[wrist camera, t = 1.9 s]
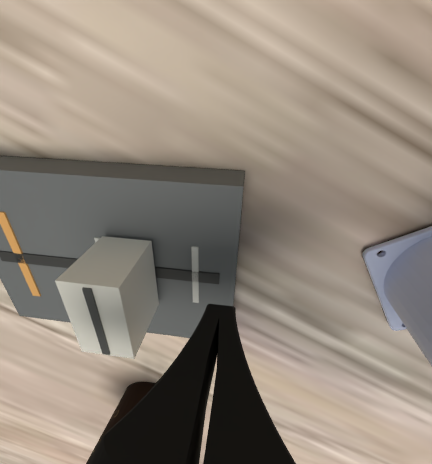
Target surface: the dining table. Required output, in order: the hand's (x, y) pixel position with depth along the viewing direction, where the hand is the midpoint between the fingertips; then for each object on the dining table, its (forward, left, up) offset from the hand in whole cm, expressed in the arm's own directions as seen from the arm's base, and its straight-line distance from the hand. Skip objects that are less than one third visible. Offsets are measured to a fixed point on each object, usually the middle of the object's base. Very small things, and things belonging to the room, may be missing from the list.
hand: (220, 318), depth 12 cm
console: (+7, -4, -6) cm, 10 cm away
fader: (+5, -3, -3) cm, 7 cm away
